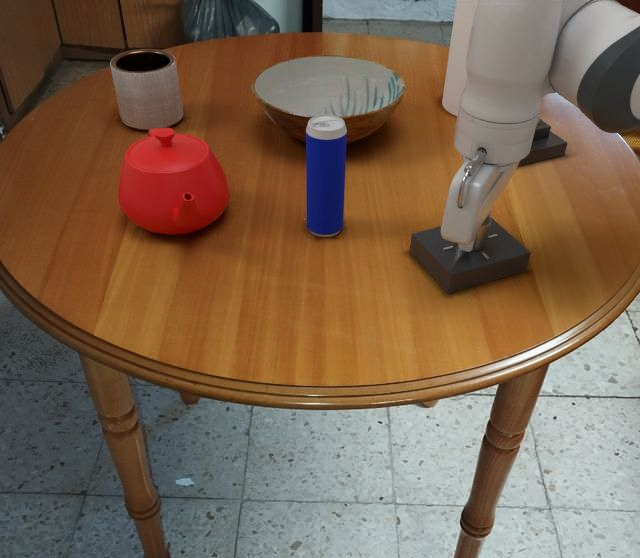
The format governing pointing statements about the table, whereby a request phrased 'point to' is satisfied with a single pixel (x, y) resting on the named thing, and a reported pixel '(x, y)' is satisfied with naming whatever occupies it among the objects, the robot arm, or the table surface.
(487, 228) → the volume dial
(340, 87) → the bowl
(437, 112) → the table surface
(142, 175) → the teapot
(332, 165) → the beverage can
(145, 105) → the planter
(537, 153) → the push button box
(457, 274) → the volume panel
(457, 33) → the canister
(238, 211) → the table surface
